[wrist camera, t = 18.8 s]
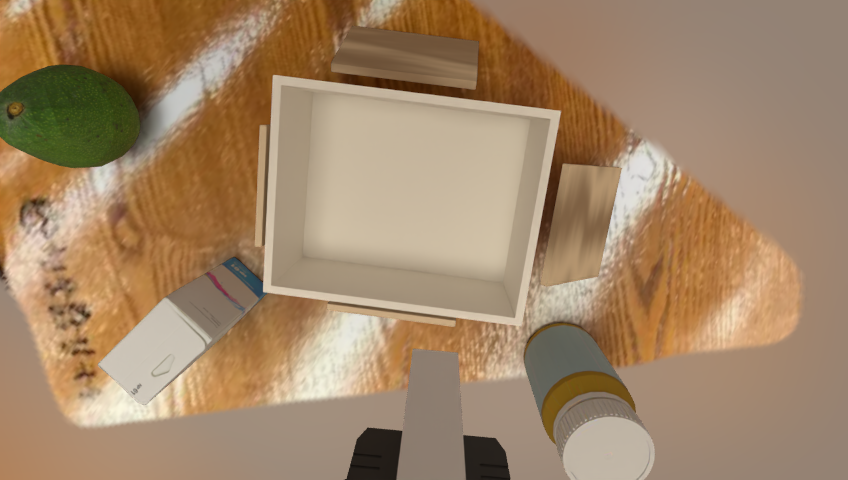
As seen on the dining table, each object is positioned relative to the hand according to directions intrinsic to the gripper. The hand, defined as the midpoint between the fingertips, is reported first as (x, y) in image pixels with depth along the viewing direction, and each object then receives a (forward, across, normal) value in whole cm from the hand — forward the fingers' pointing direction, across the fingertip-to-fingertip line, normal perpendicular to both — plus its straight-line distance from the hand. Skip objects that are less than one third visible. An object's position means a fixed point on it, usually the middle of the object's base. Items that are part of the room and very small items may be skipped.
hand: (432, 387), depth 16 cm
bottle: (+29, +13, -13) cm, 34 cm away
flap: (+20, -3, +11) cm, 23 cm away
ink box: (+30, -20, -10) cm, 37 cm away
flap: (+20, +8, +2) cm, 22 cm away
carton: (+29, -3, +2) cm, 30 cm away
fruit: (+30, -30, +6) cm, 42 cm away
